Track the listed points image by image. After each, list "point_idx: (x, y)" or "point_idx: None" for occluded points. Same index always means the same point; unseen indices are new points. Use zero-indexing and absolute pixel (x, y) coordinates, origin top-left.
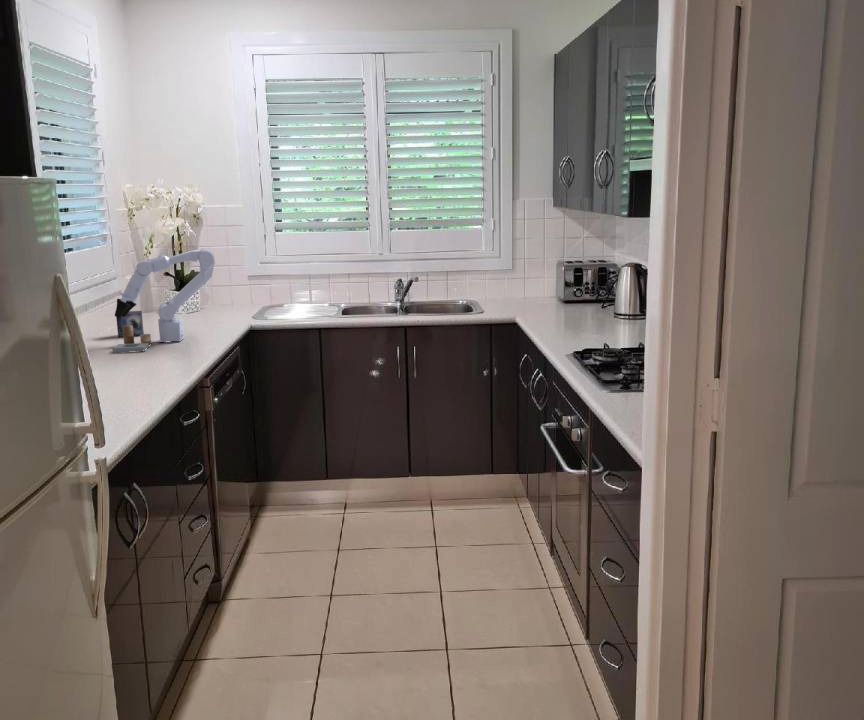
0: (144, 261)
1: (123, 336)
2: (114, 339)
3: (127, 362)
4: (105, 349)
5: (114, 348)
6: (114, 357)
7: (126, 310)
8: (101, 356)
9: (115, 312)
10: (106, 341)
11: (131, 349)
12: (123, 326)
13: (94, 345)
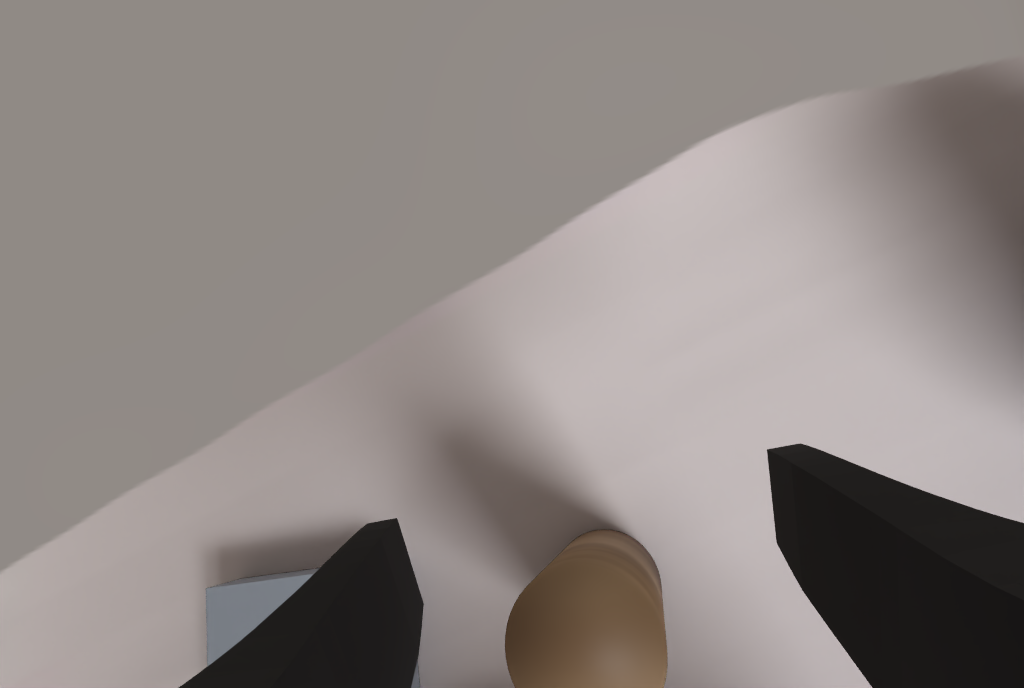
0: None
1: (561, 553)
2: (913, 263)
3: None
4: (396, 426)
5: (209, 604)
6: (85, 665)
7: (884, 647)
8: (136, 528)
9: (325, 565)
10: (786, 235)
11: None
12: (543, 593)
13: (576, 225)
